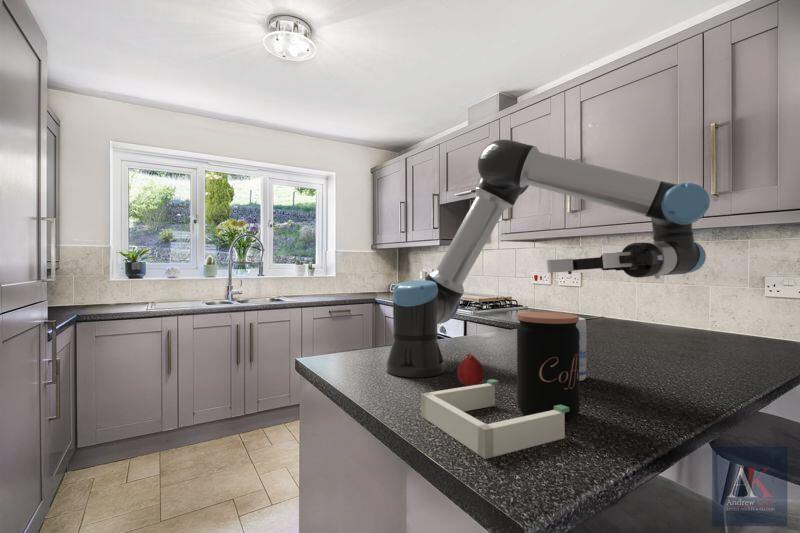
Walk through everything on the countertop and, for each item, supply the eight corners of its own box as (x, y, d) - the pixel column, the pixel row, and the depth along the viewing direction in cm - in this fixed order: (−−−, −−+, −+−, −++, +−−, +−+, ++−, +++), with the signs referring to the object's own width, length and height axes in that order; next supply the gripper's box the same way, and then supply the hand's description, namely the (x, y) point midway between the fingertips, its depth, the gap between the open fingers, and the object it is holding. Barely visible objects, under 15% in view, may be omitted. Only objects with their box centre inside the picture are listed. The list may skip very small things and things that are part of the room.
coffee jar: (540, 427, 65) (539, 319, 65) (506, 406, 75) (505, 312, 75) (593, 421, 68) (592, 317, 68) (553, 401, 78) (553, 311, 78)
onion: (463, 384, 90) (463, 349, 90) (487, 388, 87) (487, 352, 87) (453, 391, 85) (453, 354, 85) (478, 395, 82) (478, 357, 82)
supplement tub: (569, 385, 89) (569, 320, 90) (536, 375, 98) (535, 316, 98) (595, 379, 94) (594, 318, 95) (560, 370, 103) (560, 314, 103)
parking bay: (421, 415, 70) (421, 390, 70) (493, 402, 77) (493, 379, 77) (485, 459, 54) (485, 425, 54) (569, 437, 61) (569, 407, 61)
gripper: (712, 273, 73) (636, 280, 65) (599, 279, 96) (531, 284, 88) (708, 233, 74) (631, 235, 65) (596, 249, 97) (528, 251, 88)
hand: (574, 263), depth 77 cm, fingers open, 13 cm apart
